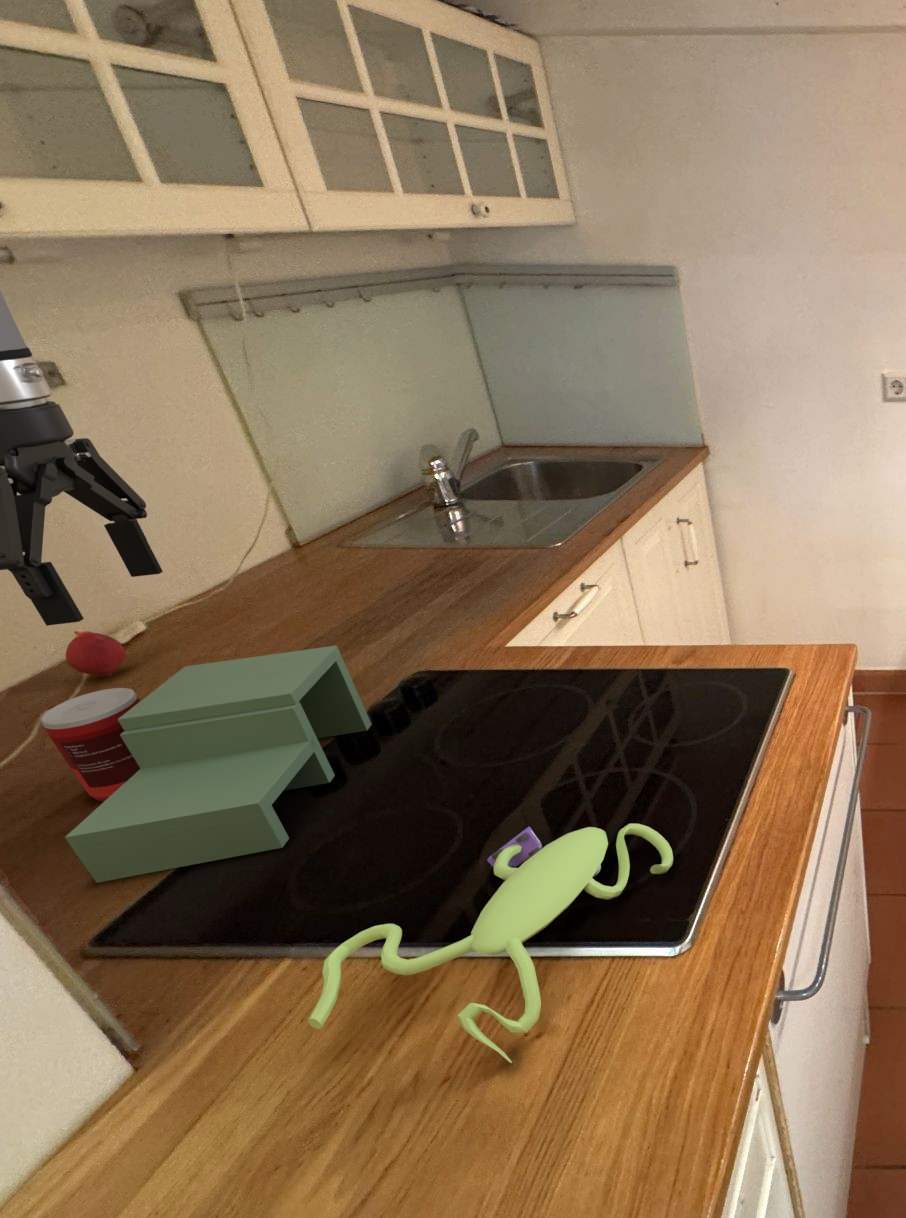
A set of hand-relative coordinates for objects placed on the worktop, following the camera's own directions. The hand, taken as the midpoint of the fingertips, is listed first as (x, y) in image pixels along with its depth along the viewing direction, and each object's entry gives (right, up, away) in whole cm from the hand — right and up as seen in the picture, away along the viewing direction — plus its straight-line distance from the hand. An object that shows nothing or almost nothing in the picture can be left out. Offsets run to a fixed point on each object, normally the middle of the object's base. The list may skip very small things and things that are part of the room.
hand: (109, 597), depth 86 cm
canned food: (-3, -22, +6) cm, 23 cm away
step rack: (+13, -23, +3) cm, 27 cm away
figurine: (+56, -31, -17) cm, 66 cm away
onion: (-34, -12, +30) cm, 47 cm away
